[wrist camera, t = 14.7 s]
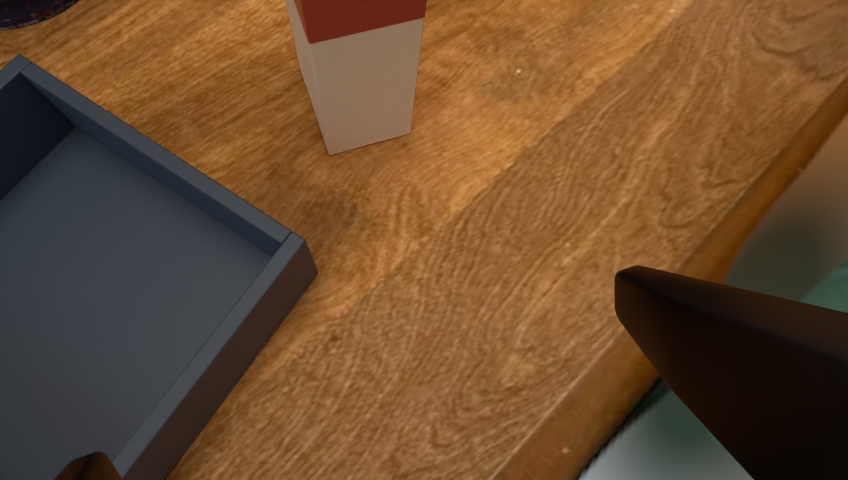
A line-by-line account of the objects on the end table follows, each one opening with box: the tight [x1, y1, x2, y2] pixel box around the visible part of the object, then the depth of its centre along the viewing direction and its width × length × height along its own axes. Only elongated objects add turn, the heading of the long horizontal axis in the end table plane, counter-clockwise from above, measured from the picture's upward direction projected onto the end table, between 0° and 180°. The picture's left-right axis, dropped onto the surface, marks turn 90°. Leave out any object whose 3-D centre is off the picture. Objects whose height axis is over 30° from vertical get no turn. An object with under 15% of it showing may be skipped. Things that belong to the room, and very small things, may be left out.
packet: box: [286, 0, 427, 155], centre depth 20 cm, size 5×4×12 cm
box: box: [0, 54, 318, 480], centre depth 20 cm, size 13×13×4 cm
